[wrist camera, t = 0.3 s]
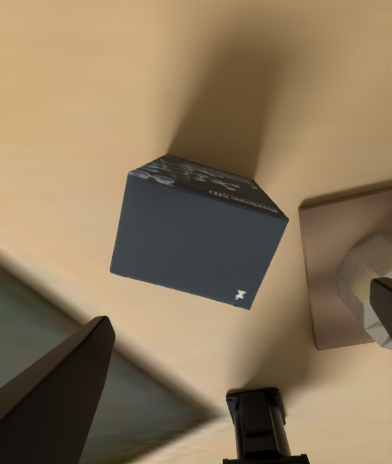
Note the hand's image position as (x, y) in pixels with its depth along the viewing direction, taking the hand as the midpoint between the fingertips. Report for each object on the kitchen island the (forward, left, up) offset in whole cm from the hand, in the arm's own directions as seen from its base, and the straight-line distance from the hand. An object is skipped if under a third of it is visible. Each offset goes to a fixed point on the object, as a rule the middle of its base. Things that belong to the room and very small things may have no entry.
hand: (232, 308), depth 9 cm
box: (+1, +1, -15) cm, 15 cm away
